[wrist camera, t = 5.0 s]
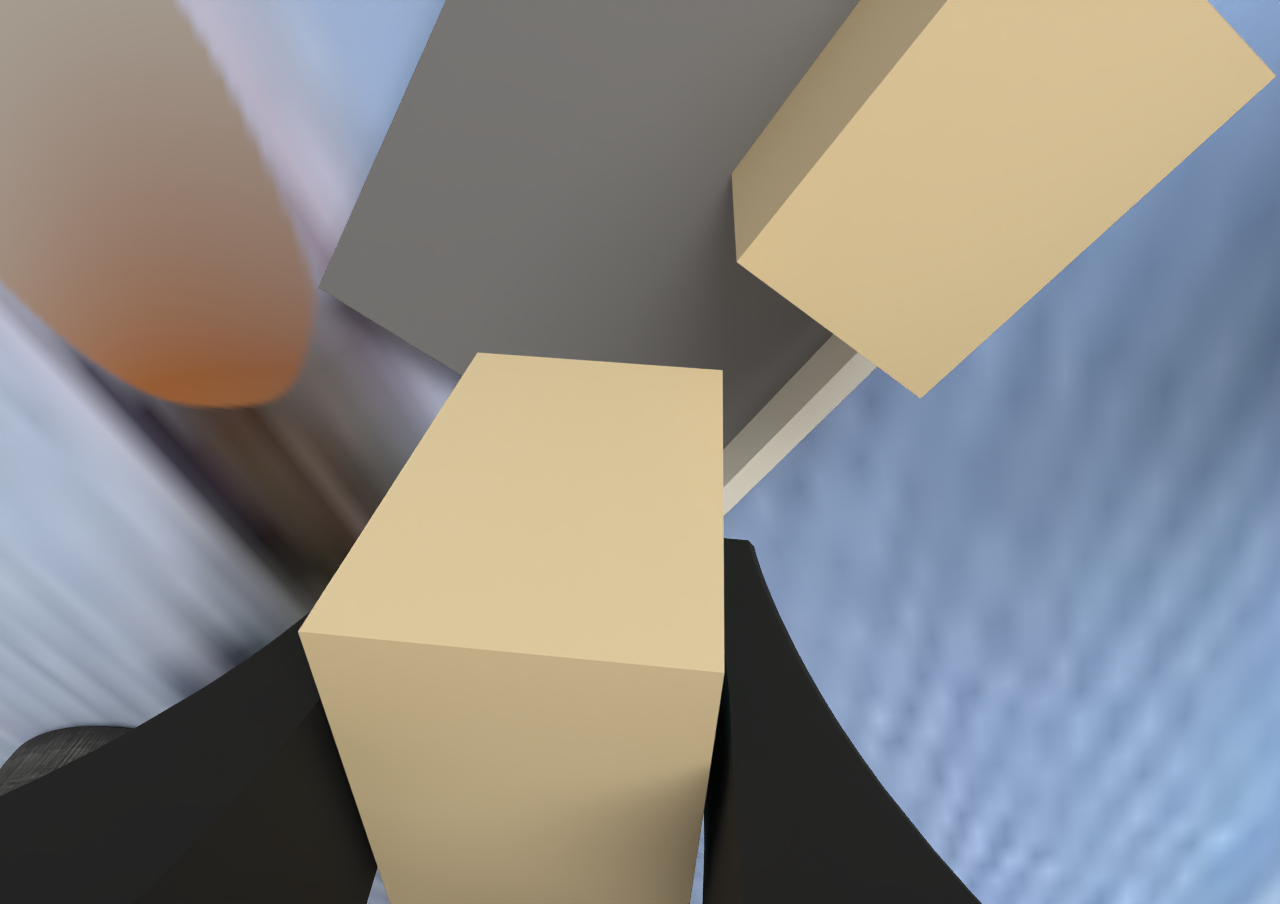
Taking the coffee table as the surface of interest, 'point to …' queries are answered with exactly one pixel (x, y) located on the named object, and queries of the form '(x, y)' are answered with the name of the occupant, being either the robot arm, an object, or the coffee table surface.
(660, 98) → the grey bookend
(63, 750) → the planter
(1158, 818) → the coffee table surface
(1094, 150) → the carton faced
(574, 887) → the carton
